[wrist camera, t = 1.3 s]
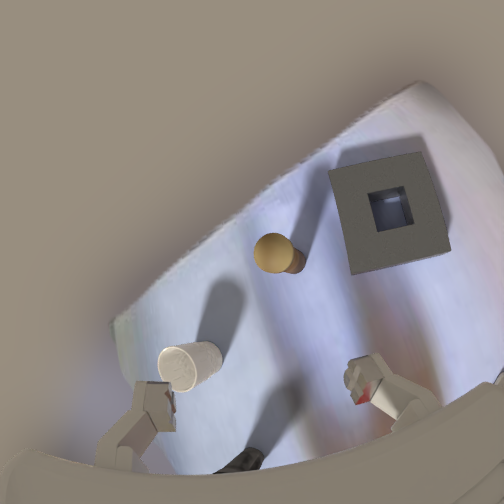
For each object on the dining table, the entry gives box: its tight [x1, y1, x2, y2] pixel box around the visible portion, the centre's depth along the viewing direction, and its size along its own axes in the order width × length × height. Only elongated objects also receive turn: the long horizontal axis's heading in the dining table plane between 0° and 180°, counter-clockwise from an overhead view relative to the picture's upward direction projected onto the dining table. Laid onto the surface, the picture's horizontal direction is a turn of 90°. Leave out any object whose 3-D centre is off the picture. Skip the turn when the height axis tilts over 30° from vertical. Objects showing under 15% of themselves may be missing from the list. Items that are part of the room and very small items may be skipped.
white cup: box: [158, 341, 222, 392], centre depth 44 cm, size 8×8×10 cm
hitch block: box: [328, 152, 451, 275], centre depth 38 cm, size 16×16×5 cm
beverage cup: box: [213, 448, 264, 474], centre depth 33 cm, size 7×7×20 cm
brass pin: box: [254, 233, 306, 274], centre depth 40 cm, size 5×5×12 cm
